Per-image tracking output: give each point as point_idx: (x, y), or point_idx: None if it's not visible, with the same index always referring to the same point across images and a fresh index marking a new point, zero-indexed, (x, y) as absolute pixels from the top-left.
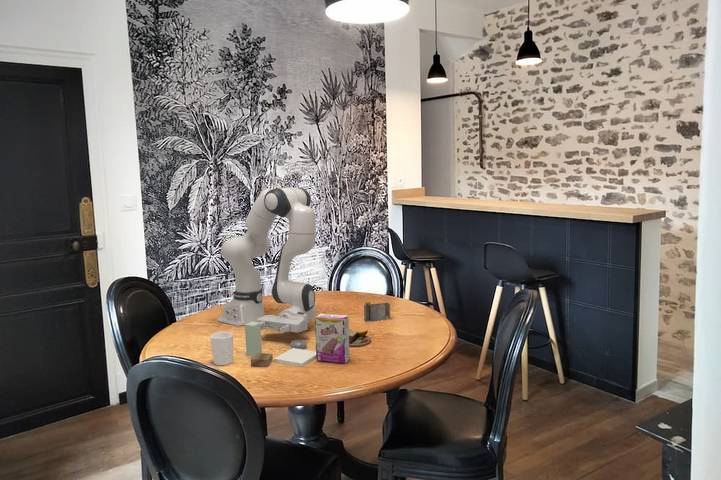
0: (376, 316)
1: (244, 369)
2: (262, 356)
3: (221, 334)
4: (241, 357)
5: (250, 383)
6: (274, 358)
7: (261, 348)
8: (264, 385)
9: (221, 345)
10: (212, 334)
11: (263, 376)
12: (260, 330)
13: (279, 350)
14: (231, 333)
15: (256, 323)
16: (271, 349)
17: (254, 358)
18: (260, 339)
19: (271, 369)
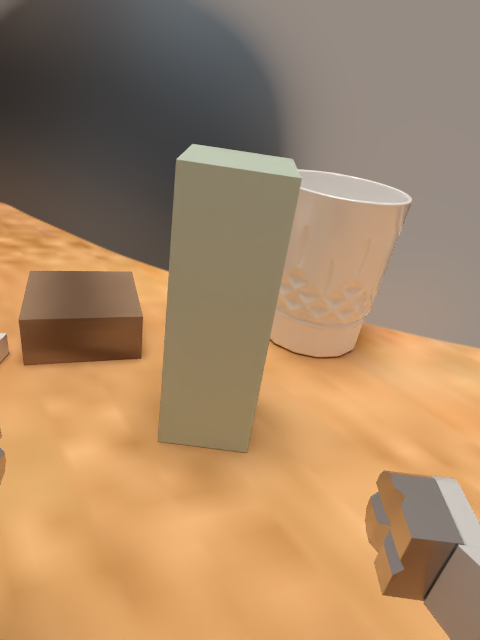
0: None
1: (148, 292)
2: (77, 292)
3: (392, 217)
4: (265, 379)
5: (65, 236)
6: (2, 335)
7: (161, 400)
8: (5, 229)
9: None
10: (402, 192)
11: (29, 260)
12: (171, 245)
13: (7, 554)
14: (322, 196)
15: (205, 157)
16: (117, 560)
17: (115, 277)
18: (167, 324)
19: (4, 296)
